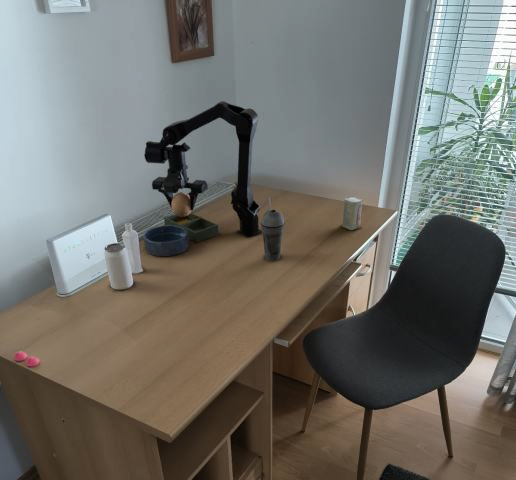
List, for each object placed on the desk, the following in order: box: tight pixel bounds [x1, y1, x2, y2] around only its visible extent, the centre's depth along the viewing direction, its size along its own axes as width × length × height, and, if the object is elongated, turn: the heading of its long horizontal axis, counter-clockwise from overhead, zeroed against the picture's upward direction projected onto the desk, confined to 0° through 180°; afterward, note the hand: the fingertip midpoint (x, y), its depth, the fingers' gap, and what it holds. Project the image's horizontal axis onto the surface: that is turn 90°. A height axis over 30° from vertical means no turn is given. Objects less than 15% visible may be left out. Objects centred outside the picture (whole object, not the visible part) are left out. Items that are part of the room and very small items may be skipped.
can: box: [103, 242, 134, 291], centre depth 142 cm, size 6×6×12 cm
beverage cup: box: [260, 195, 285, 262], centre depth 153 cm, size 7×7×20 cm
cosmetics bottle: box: [341, 196, 363, 231], centre depth 175 cm, size 5×4×10 cm
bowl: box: [142, 224, 189, 257], centre depth 165 cm, size 14×14×5 cm
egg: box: [171, 191, 193, 217], centre depth 175 cm, size 7×7×8 cm
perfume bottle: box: [121, 222, 144, 274], centre depth 149 cm, size 5×4×15 cm
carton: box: [163, 212, 220, 243], centre depth 176 cm, size 19×10×4 cm, turn 43°
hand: (182, 209), depth 176 cm, fingers closed on egg, 7 cm apart
